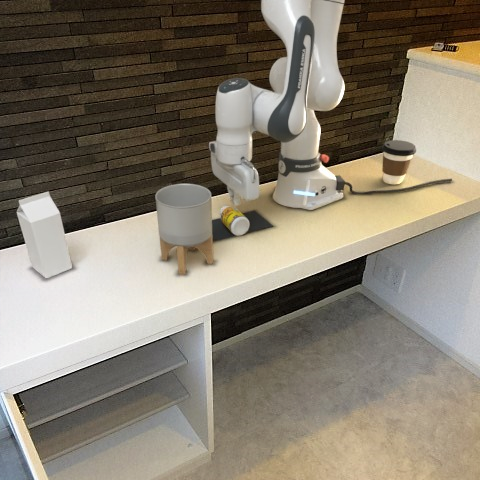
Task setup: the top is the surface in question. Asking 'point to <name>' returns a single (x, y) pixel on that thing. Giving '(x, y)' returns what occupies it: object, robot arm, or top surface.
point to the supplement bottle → (234, 220)
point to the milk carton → (44, 235)
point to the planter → (185, 221)
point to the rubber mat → (254, 225)
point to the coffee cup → (396, 160)
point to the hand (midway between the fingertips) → (235, 203)
